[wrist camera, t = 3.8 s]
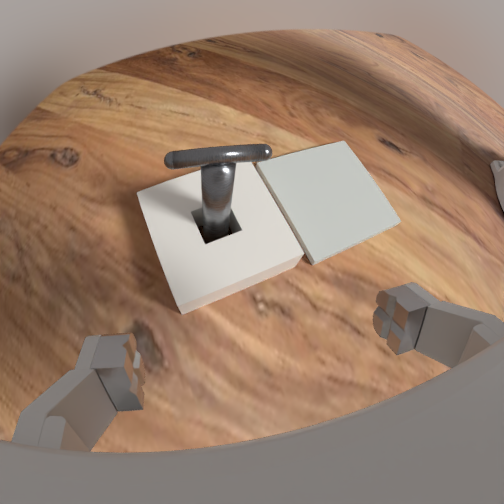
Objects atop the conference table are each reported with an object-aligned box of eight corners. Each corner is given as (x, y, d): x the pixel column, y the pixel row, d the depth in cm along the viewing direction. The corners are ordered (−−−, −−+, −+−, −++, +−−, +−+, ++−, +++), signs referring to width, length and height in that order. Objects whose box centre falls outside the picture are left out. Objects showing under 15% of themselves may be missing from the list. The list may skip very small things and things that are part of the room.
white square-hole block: (244, 176, 28) (247, 155, 26) (294, 267, 25) (304, 253, 22) (143, 210, 26) (136, 192, 23) (182, 315, 23) (177, 306, 20)
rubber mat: (341, 145, 32) (344, 140, 31) (397, 224, 28) (401, 221, 28) (255, 168, 29) (256, 162, 28) (312, 265, 25) (315, 262, 25)
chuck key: (248, 223, 26) (269, 133, 16) (252, 244, 26) (277, 159, 16) (179, 231, 25) (162, 142, 15) (181, 253, 25) (163, 170, 14)
